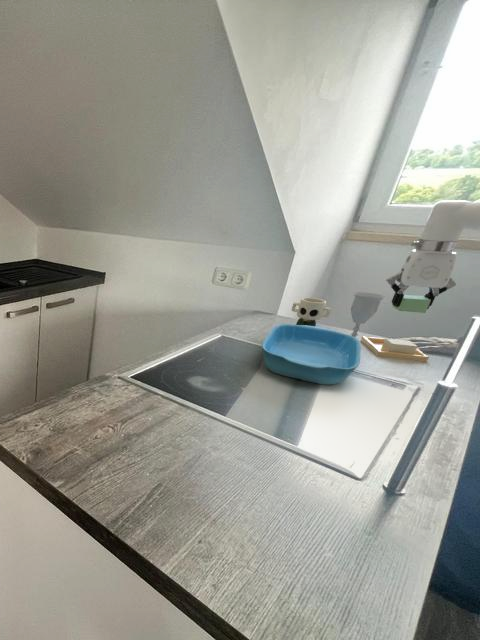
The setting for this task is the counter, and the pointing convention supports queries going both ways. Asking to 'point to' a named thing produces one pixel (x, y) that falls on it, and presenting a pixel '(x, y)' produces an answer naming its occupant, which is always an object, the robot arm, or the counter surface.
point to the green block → (413, 304)
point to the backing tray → (376, 346)
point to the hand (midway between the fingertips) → (409, 306)
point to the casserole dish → (311, 353)
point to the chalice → (364, 308)
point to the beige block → (399, 346)
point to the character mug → (310, 311)
